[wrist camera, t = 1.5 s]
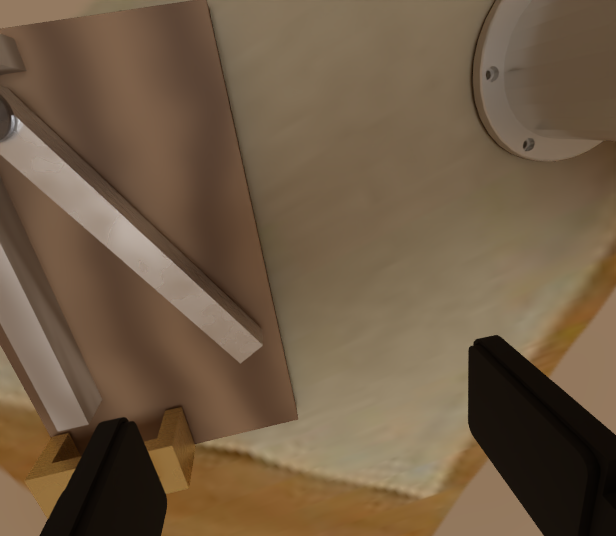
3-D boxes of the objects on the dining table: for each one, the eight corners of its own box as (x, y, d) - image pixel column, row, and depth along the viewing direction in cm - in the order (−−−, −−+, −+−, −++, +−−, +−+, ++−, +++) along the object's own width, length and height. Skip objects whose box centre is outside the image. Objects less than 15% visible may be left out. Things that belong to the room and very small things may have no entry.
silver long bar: (5, 78, 20) (-32, 70, 17) (265, 326, 27) (266, 347, 25) (-28, 112, 20) (-69, 110, 18) (237, 348, 27) (236, 371, 25)
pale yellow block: (181, 407, 28) (166, 471, 23) (195, 446, 30) (184, 515, 25) (51, 436, 28) (6, 510, 22) (73, 476, 29) (34, 553, 24)
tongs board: (208, 6, 22) (200, -18, 18) (296, 406, 32) (302, 443, 29) (-132, 57, 20) (-217, 41, 16) (78, 457, 31) (55, 503, 27)
